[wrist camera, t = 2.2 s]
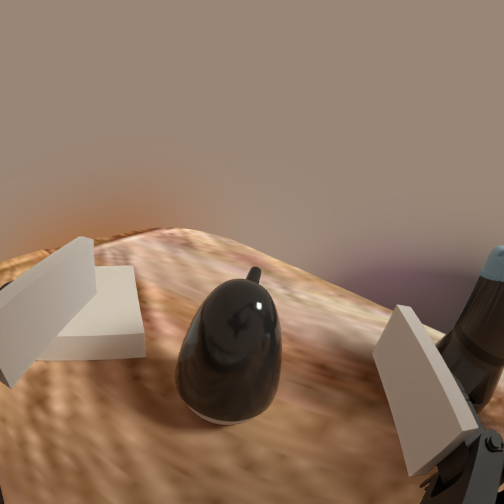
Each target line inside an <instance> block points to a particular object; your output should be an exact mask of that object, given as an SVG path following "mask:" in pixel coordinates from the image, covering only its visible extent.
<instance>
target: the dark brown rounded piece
mask: <svg viewBox="0 0 504 504" xmlns="http://www.w3.org/2000/svg"><path fill="white" fill-rule="evenodd" d="M260 276H261V269H260V268H258V267H252V268H251V269H250V271H249V273H248V275H247V277H246V279H232V280H228V281H226V282H224V283H222V284H220V285H219V286H218V287H216V288H215V289H214V290H213V291H212V292H211V293H210V294H209V295H208V296H207V297H206V299H205V300H204V301H203V303H202V304H201V306H200V307H199V309H198V310H197V312H196V314H195V316H194V317H193V319H192V321H191V324H190V326H189V328H188V330H187V332H186V335H185V337H184V340H183V342H182V345H181V348H180V352H179V356H178V360H177V364H176V371H175V382H176V387H177V390H178V392H179V394H180V396H181V397H182V399H183V400H184V401H185V402H186V404H187V405H188V407H189V408H190V409H191V410H192V411H193V412H194V413H195V414H197V415H198V416H199V417H201V418H203V419H205V420H207V421H209V422H212V423H215V424H221V425H235V424H240V423H243V422H246V421H248V420H251V419H252V418H254V417H256V416H258V415H259V414H261V413H263V412H264V411H265V410H266V409H267V408H268V407H269V406H270V405H271V403H272V402H273V400H274V398H275V395H276V392H277V389H278V385H279V380H280V373H281V364H282V336H281V326H280V320H279V316H278V312H277V309H276V306H275V304H274V301H273V299H272V297H271V296H270V294H269V293H268V291H267V290H266V289H265V288H264V287H262V286H261V285H259V280H260Z"/></svg>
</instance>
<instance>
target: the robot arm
mask: <svg viewBox="0 0 504 504" xmlns="http://www.w3.org/2000/svg"><path fill="white" fill-rule="evenodd" d="M479 274H480V277H479V279H478V281H477V283H476V285H475V287H474V289H473V292H472V293H471V296H470V297H469V300H468V301H467V303H466V305H465V307H464V309H463V311H462V313H461V315H460V317H459V318H458V320H457V322H456V324H455V326H454V327H453V329H452V330H451V331H449V332H448V333H447V334H446V335H445V336H444V337H443V338H442V339H441V340H440V341H438V342H437V343H436V344H435V345H434V343H433V341H432V340H431V338H430V336H429V335H428V333H427V332H426V330H425V328H424V327H423V325H422V324H421V322H420V320H419V319H418V318H417V316H416V314H415V313H414V311H413V310H412V308H411V307H408V306H402V305H396V307H395V310H394V312H393V314H392V316H391V318H390V320H389V322H388V324H387V326H386V328H385V330H384V331H383V333H382V335H381V337H380V339H379V341H378V343H377V345H376V346H375V348H374V350H373V352H372V355H373V358H374V361H375V364H376V366H377V369H378V372H379V375H380V378H381V381H382V384H383V387H384V390H385V393H386V396H387V400H388V403H389V406H390V409H391V413H392V416H393V419H394V423H395V426H396V429H397V433H398V437H399V440H400V444H401V448H402V451H403V455H404V459H405V463H406V467H407V471H408V475H409V477H412V476H417V475H422V474H426V473H427V472H429V471H430V470H431V469H432V468H434V467H435V466H436V465H437V467H438V470H439V471H438V472H436V473H435V474H434V475H432V476H431V477H430V478H428V479H427V480H425V481H424V482H423V483H422V484H421V485H420V486H419V487H421V488H422V487H423V486H425V485H426V484H428V483H429V482H430V484H429V486H428V487H426V488H425V489H424V490H426V493H425V495H424V497H423V499H422V501H421V503H420V504H504V490H503V491H501V492H498V489H499V486H501V485H502V484H503V483H504V441H503V439H502V437H501V436H500V435H499V434H498V433H497V432H496V431H494V430H491V429H490V430H484V428H483V426H482V424H481V421H480V419H479V417H478V415H477V414H478V413H479V412H480V411H481V410H482V409H483V408H484V407H485V406H486V405H487V404H488V402H489V401H490V399H491V398H492V396H493V393H494V391H495V389H496V386H497V384H498V382H499V379H500V377H501V374H502V372H503V369H504V246H496V247H495V248H493V249H492V250H491V252H490V253H489V256H488V258H487V260H486V262H485V264H484V267H483V269H481V270H480V273H479ZM96 294H97V291H96V279H95V264H94V240H93V239H90V238H86V237H82V236H80V237H78V238H76V239H75V240H73V241H71V242H70V243H68V244H66V245H65V246H63V247H62V248H60V249H59V250H57V251H56V252H54V253H53V254H51V255H50V256H48V257H47V258H45V259H44V260H42V261H41V262H39V263H38V264H36V265H35V266H33V267H32V268H31V269H29V270H28V271H26V272H25V273H23V274H22V275H21V276H19V277H18V278H17V279H15V280H13V281H11V282H8V283H6V284H5V285H3V286H2V287H1V288H0V381H1V382H2V383H3V384H5V385H6V386H8V387H9V388H10V389H12V388H13V387H14V386H15V384H16V383H17V382H18V381H19V379H20V378H21V377H22V376H23V374H24V373H25V372H26V371H27V370H28V368H29V367H30V366H31V365H32V364H33V362H34V361H35V360H36V359H37V358H38V357H39V355H40V354H41V353H42V352H43V351H44V350H45V348H46V347H47V346H48V345H49V344H50V343H51V342H52V341H53V339H54V338H55V337H56V336H57V335H58V334H59V333H60V332H61V331H62V329H63V328H64V327H65V326H66V325H67V324H68V323H69V322H70V321H71V320H72V319H73V318H74V317H75V316H76V314H77V313H78V312H79V311H80V310H81V309H82V308H83V307H84V306H85V305H86V304H87V303H88V302H89V301H90V300H91V299H92V298H93V297H94V296H95V295H96ZM0 504H4V500H3V496H2V492H1V487H0Z"/></svg>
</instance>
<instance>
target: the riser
mask: <svg viewBox="0 0 504 504" xmlns="http://www.w3.org/2000/svg"><path fill="white" fill-rule="evenodd" d="M95 279H96V291H97V294H96V295H95V296H94V297H93V298H92V299H91V300H90V301H89V302H88V303H87V304H86V305H85V306H84V307H83V308H82V309H81V310H80V311H79V312H78V313H77V314H76V316H75V317H74V318H73V319H72V320H71V321H70V322H69V323H68V324H67V325H66V326H65V327H64V328H63V329H62V331H61V332H60V333H59V334H58V335H57V336H56V337H55V338H54V339H53V341H52V342H51V343H50V344H49V345H48V346H47V347H46V348H45V350H44V351H43V352H42V353H41V354H40V355H39V357H38V358H37V359H36V360H35V361H87V360H111V359H128V358H141V357H146V349H145V333H144V328H143V323H142V318H141V313H140V307H139V301H138V296H137V290H136V283H135V277H134V270H133V266H95Z"/></svg>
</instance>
